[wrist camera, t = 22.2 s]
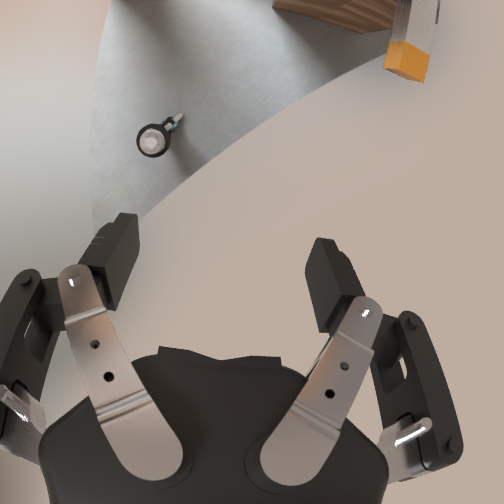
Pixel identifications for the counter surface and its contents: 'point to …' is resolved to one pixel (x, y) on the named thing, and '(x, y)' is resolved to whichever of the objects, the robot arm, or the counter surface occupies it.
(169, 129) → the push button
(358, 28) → the stand
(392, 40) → the bar
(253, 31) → the counter surface
